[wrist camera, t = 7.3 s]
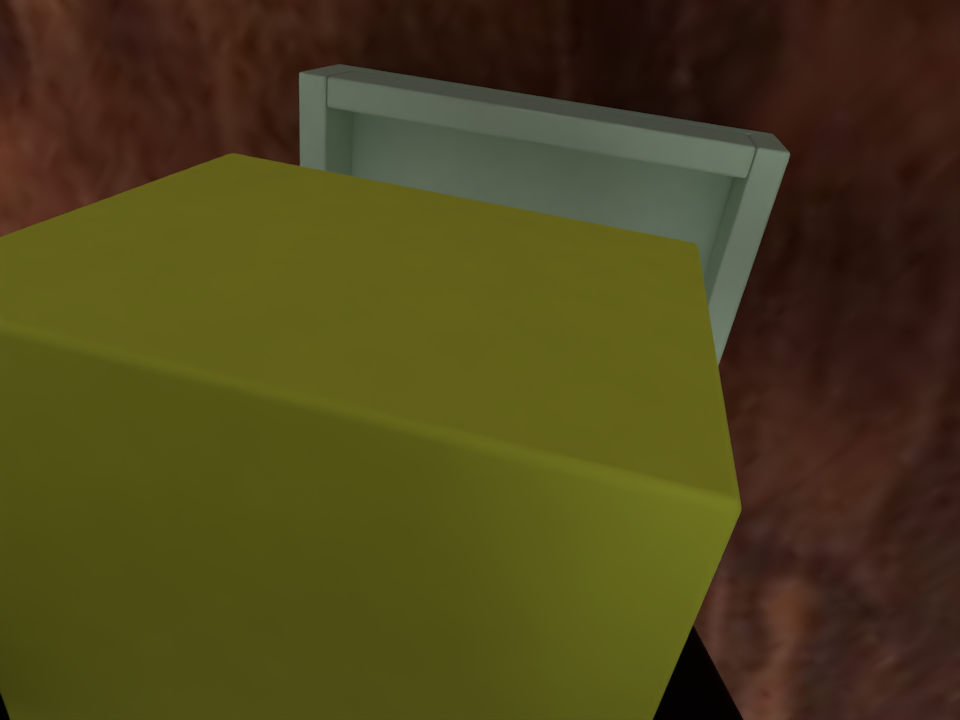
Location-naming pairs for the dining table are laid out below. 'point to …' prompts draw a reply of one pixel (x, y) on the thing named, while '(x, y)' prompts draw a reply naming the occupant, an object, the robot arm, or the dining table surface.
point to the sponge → (350, 456)
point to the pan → (554, 162)
